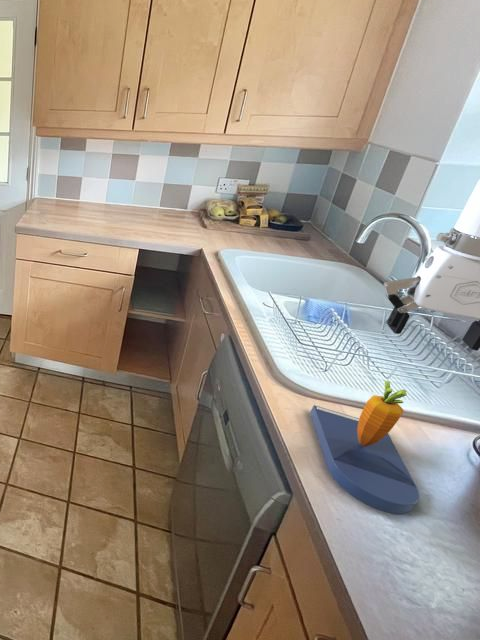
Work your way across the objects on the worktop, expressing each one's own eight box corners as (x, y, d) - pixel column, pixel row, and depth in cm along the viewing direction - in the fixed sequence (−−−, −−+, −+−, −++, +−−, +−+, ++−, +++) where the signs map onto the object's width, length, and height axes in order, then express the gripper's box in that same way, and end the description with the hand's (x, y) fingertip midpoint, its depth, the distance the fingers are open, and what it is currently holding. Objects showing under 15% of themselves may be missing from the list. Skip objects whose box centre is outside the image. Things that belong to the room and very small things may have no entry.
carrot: (344, 431, 85) (376, 373, 78) (376, 443, 82) (412, 384, 76) (347, 447, 81) (381, 388, 75) (380, 460, 78) (419, 400, 72)
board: (378, 434, 87) (384, 425, 86) (425, 526, 69) (433, 516, 68) (309, 413, 92) (313, 404, 91) (336, 494, 74) (342, 484, 73)
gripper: (419, 243, 64) (373, 334, 71) (585, 266, 57) (516, 365, 64) (399, 228, 71) (359, 314, 78) (547, 248, 64) (488, 340, 71)
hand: (430, 337), depth 71 cm, fingers open, 9 cm apart
